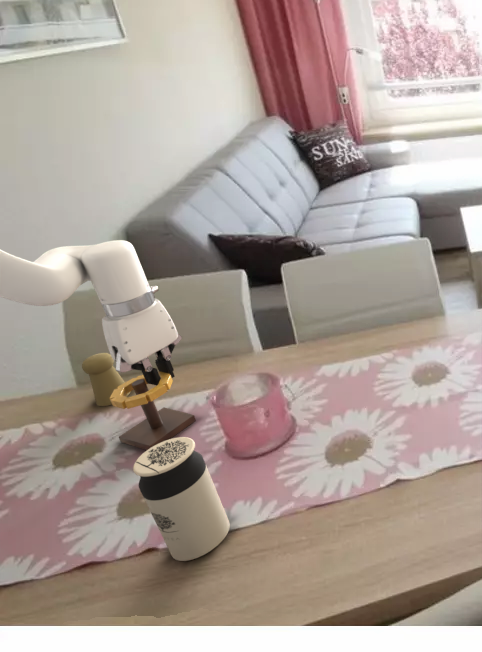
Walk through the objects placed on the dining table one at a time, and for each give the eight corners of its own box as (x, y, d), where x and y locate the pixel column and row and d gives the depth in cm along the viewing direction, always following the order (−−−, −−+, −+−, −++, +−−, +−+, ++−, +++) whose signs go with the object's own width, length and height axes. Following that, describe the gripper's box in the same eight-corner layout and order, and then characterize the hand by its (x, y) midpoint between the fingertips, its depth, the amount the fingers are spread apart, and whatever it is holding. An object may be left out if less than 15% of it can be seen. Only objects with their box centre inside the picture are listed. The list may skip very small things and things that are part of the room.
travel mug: (215, 510, 92) (181, 428, 85) (240, 530, 88) (206, 446, 82) (162, 547, 86) (120, 462, 79) (186, 571, 82) (144, 484, 75)
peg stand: (152, 451, 106) (129, 400, 101) (121, 442, 108) (97, 392, 104) (196, 420, 113) (176, 372, 109) (166, 412, 116) (145, 365, 111)
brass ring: (135, 412, 102) (132, 405, 101) (102, 403, 105) (99, 397, 104) (182, 382, 110) (180, 375, 109) (151, 374, 113) (148, 368, 112)
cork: (98, 410, 118) (78, 368, 114) (94, 398, 122) (75, 358, 118) (132, 396, 122) (114, 355, 118) (128, 385, 126) (110, 345, 122)
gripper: (157, 282, 112) (186, 355, 119) (68, 321, 98) (107, 402, 105) (183, 286, 109) (211, 360, 116) (96, 327, 96) (134, 409, 102)
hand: (162, 379), depth 110 cm, fingers closed on brass ring, 1 cm apart
